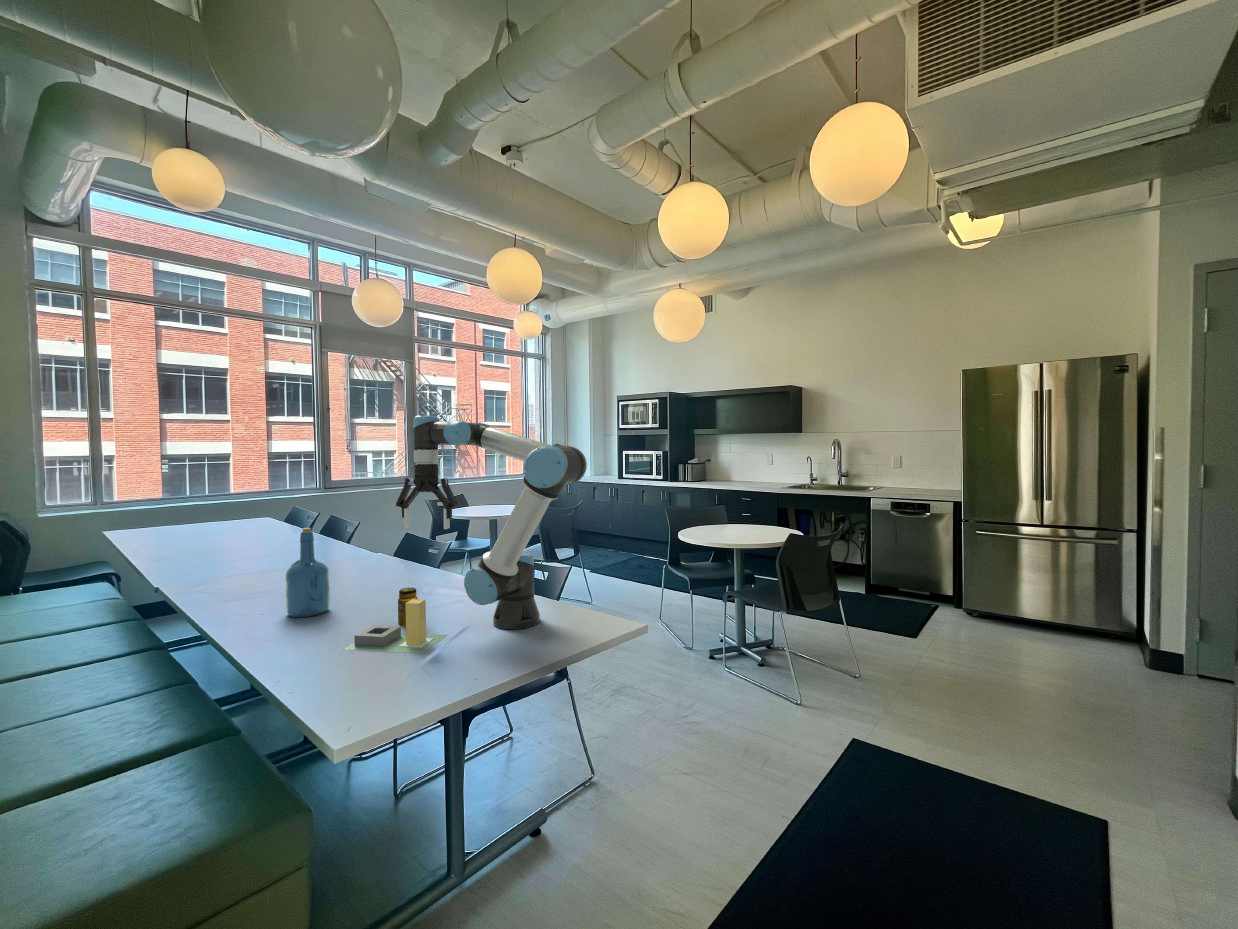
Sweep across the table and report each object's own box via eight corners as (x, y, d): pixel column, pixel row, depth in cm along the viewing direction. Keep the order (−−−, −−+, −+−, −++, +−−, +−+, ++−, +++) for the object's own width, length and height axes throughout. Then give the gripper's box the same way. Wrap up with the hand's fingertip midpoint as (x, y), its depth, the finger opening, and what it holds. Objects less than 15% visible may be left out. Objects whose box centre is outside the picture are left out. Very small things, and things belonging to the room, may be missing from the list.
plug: (426, 640, 156) (425, 599, 156) (419, 645, 152) (418, 603, 152) (413, 639, 157) (412, 599, 157) (406, 644, 153) (405, 603, 153)
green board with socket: (447, 638, 161) (447, 625, 161) (422, 657, 146) (422, 642, 146) (374, 634, 165) (374, 621, 165) (343, 653, 150) (342, 638, 150)
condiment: (421, 626, 172) (420, 590, 172) (393, 631, 168) (393, 594, 167) (416, 620, 178) (415, 585, 178) (389, 625, 174) (388, 589, 173)
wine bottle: (337, 610, 190) (335, 527, 189) (298, 621, 178) (296, 532, 177) (316, 604, 197) (315, 524, 196) (278, 614, 186) (276, 529, 185)
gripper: (467, 463, 174) (468, 527, 175) (396, 463, 178) (397, 526, 178) (457, 463, 167) (458, 530, 168) (384, 463, 170) (385, 529, 171)
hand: (427, 528), depth 173 cm, fingers open, 13 cm apart
